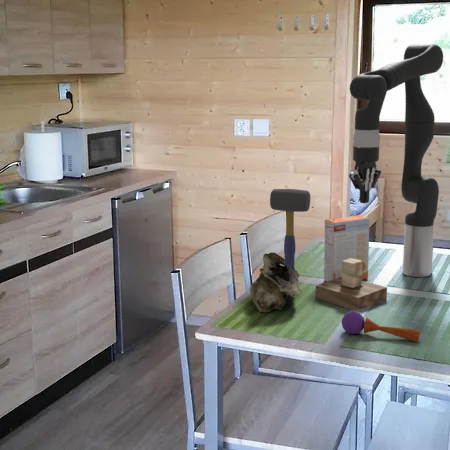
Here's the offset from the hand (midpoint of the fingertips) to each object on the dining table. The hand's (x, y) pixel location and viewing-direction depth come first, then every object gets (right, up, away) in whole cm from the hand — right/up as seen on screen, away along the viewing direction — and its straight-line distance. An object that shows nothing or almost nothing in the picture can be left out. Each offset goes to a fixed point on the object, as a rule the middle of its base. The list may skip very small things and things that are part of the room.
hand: (364, 202), depth 209 cm
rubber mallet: (-20, -24, +25) cm, 41 cm away
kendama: (-1, -36, -26) cm, 44 cm away
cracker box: (-2, -25, +22) cm, 33 cm away
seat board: (-3, -29, +3) cm, 29 cm away
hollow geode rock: (-26, -30, +3) cm, 39 cm away
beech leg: (-3, -29, +3) cm, 29 cm away
